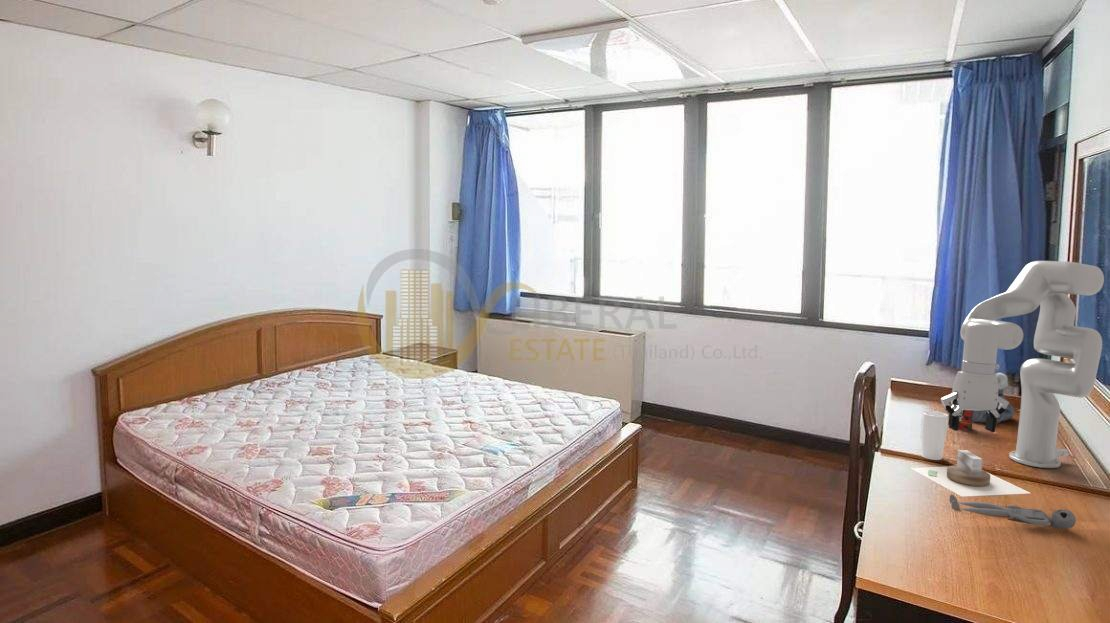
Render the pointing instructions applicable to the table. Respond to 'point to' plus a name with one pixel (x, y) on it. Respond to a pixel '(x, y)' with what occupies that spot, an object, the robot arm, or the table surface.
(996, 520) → the table surface
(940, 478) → the white square board
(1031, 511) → the alien figure
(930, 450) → the white cup
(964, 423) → the deodorant
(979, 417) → the koala plush
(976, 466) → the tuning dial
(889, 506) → the table surface
